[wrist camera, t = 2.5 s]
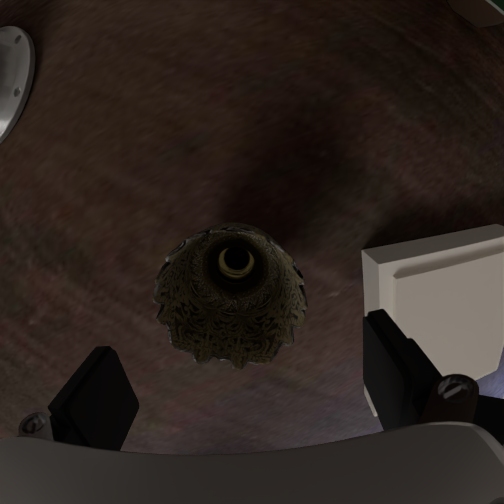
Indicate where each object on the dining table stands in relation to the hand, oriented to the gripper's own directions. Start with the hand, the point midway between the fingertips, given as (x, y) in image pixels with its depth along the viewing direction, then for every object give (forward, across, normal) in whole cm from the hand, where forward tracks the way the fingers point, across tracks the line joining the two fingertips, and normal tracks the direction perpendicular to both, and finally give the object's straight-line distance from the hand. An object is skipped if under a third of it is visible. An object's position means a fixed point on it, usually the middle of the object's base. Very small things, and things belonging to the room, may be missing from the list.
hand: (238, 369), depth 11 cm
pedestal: (+13, -15, +7) cm, 21 cm away
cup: (+12, +1, -1) cm, 12 cm away
